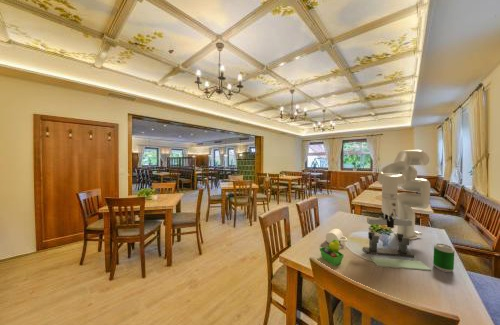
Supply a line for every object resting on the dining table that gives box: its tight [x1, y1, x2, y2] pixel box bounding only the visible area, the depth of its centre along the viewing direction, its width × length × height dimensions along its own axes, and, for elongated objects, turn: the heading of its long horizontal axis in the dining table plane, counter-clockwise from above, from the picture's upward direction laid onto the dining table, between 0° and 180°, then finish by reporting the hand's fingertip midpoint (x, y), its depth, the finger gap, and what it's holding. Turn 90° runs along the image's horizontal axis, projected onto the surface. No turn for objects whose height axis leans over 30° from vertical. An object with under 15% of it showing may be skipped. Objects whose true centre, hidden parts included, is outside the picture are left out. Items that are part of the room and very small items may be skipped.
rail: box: [366, 217, 412, 227], centre depth 118 cm, size 23×3×3 cm, turn 81°
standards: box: [362, 231, 415, 258], centre depth 118 cm, size 25×6×11 cm, turn 81°
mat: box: [370, 256, 432, 272], centre depth 106 cm, size 25×8×1 cm, turn 81°
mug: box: [325, 228, 348, 245], centre depth 131 cm, size 12×10×8 cm
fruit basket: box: [319, 239, 345, 266], centre depth 110 cm, size 11×9×11 cm
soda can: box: [432, 243, 455, 273], centre depth 102 cm, size 8×8×12 cm
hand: (388, 225), depth 118 cm, fingers closed on rail, 3 cm apart
